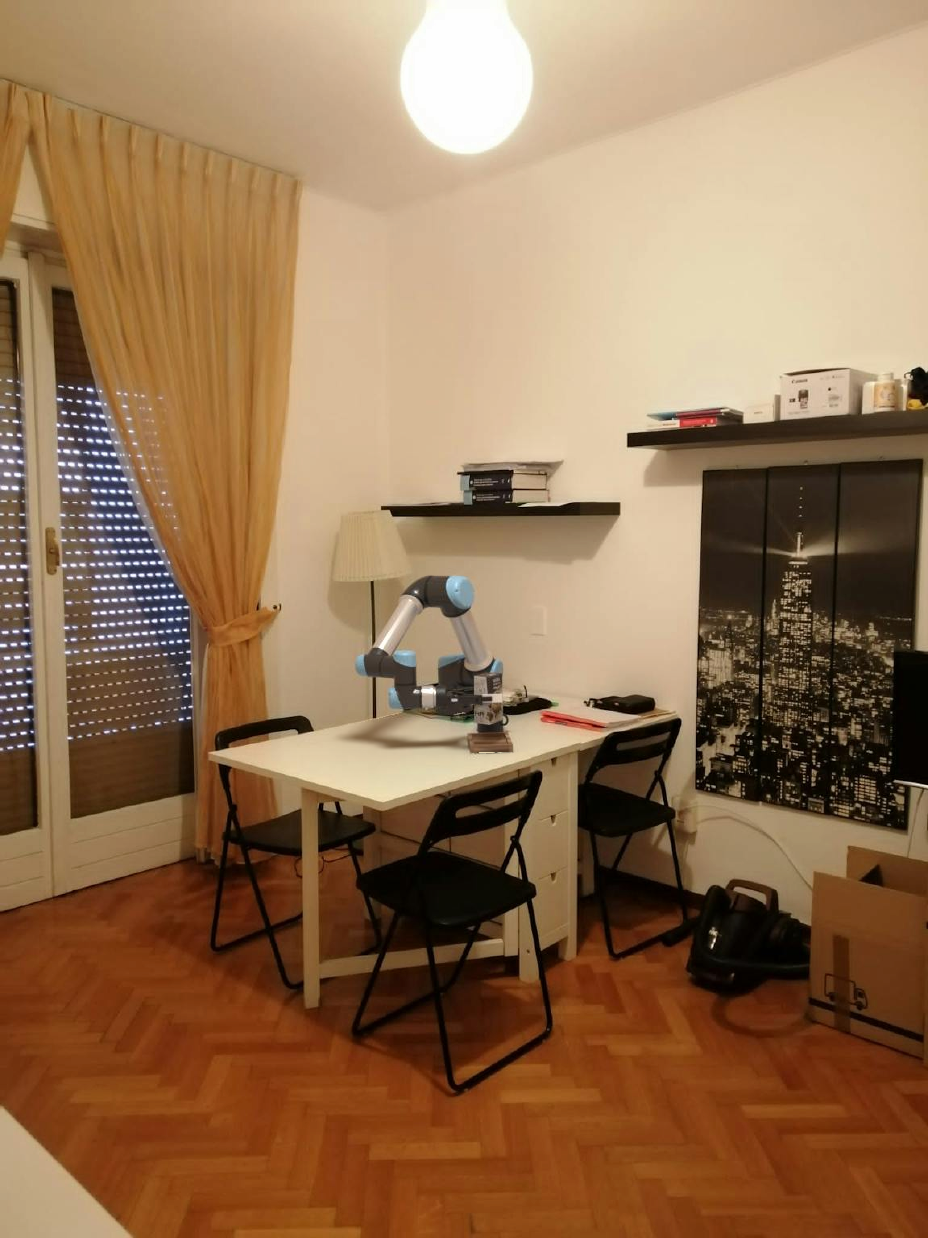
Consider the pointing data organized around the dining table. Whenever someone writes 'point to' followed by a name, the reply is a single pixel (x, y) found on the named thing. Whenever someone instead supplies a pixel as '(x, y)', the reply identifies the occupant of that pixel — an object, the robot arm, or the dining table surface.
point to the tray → (490, 742)
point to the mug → (492, 726)
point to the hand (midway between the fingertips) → (500, 694)
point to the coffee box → (488, 685)
